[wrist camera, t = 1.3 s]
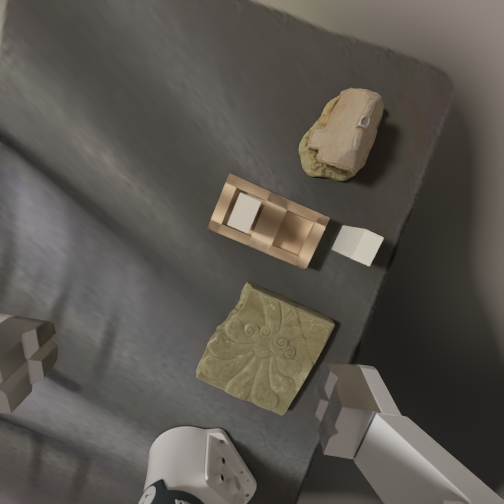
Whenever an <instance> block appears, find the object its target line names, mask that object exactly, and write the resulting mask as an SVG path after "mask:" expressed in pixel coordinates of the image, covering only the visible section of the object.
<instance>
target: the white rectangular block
mask: <svg viewBox="0 0 504 504" xmlns="http://www.w3.org/2000/svg"><path fill="white" fill-rule="evenodd" d="M383 239H384V237H382V236H379V235H377V234H375V233H373V232H370V231H368V230H366V229H361V228H355V227H350V226H344V225H343V226H342V228H341V230H340V232H339V235H338V237H337V239H336V241H335V243H334V245H333V247H332V250H334V251H336V252H338V253H340V254H343V255H345V256H347V257H349V258H351V259H353V260H356V261H358V262H360V263H363V264H365V265H367V266H370V265H371V263H372V261H373V259H374V257H375V255H376V253H377V251H378V249H379V247H380V245H381V243H382V241H383Z"/></svg>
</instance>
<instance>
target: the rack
mask: <svg viewBox="0 0 504 504" xmlns="http://www.w3.org/2000/svg"><path fill="white" fill-rule="evenodd" d="M240 193H243V194H245V195H247V196H249V197H252V198H254V199H256V200H259V201H261V204H260V207H259V209H258V211H257V214H256V216H255V218H254V221H253V223H252V225H251V228H250V230H249V233H248V234H247V233H245V232H243V231H240V230H238V229H236V228H233V227H231V226H229V225H227V223H228V221H229V218H230V216H231V214H232V211H233V209H234V206H235V204H236V202H237V199H238V197H239V194H240ZM329 219H330V218H329V217H327V216H324V215H322V214H320V213H318V212H315V211H313V210H311V209H309V208H306V207H304V206H302V205H300V204H297V203H295V202H293V201H291V200H288V199H286V198H284V197H282V196H279V195H277V194H275V193H273V192H270V191H268V190H266V189H264V188H261V187H259V186H257V185H255V184H252V183H250V182H248V181H246V180H243V179H241V178H239V177H237V176H234V175H232V174H230V173H229V176H228V178H227V181H226V183H225V186H224V188H223V191H222V193H221V196H220V198H219V201H218V203H217V206H216V208H215V211H214V213H213V216H212V218H211V221H210V223H209V226H208V228H207V229H210V230H212V231H215V232H217V233H219V234H222V235H224V236H226V237H229V238H231V239H234V240H236V241H238V242H241V243H243V244H246V245H248V246H250V247H253V248H255V249H258V250H260V251H262V252H265V253H267V254H269V255H272V256H274V257H277V258H279V259H281V260H284V261H286V262H289V263H291V264H293V265H296V266H298V267H300V268H303V269H305V270H306V268H307V266H308V264H309V262H310V260H311V258H312V256H313V253H314V251H315V249H316V247H317V245H318V243H319V241H320V239H321V236H322V234H323V232H324V230H325V228H326V226H327V224H328V221H329Z"/></svg>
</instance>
